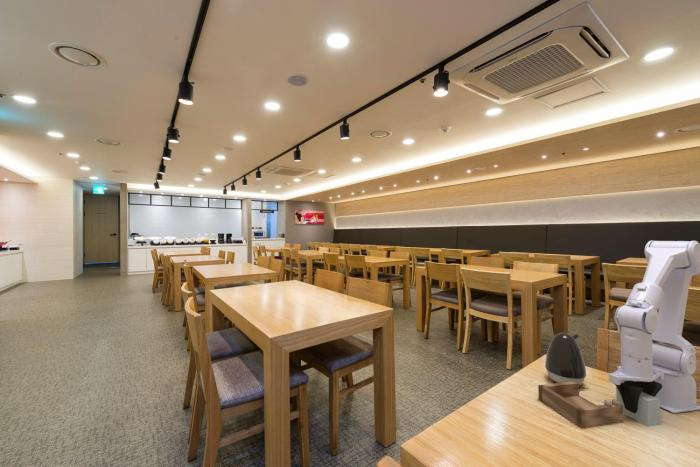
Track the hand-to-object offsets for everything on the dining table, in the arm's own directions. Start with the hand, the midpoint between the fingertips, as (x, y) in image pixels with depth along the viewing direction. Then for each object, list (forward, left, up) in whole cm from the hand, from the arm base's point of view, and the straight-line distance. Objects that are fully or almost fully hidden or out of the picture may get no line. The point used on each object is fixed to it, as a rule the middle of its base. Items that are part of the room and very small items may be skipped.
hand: (637, 410), depth 74 cm
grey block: (0, 0, -2) cm, 2 cm away
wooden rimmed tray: (+12, -5, -2) cm, 13 cm away
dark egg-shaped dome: (+2, -18, -2) cm, 18 cm away
